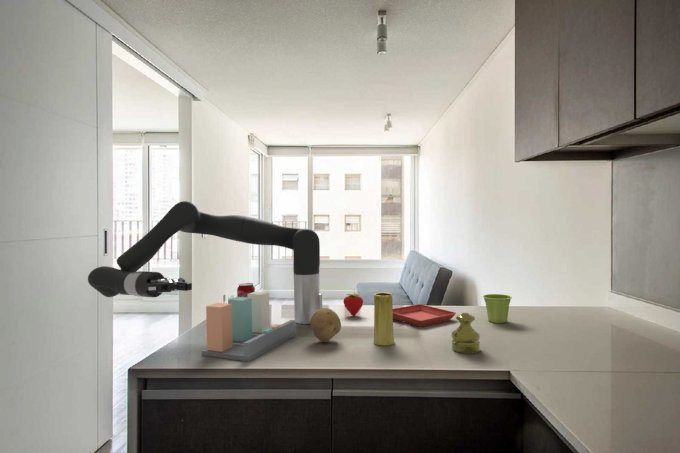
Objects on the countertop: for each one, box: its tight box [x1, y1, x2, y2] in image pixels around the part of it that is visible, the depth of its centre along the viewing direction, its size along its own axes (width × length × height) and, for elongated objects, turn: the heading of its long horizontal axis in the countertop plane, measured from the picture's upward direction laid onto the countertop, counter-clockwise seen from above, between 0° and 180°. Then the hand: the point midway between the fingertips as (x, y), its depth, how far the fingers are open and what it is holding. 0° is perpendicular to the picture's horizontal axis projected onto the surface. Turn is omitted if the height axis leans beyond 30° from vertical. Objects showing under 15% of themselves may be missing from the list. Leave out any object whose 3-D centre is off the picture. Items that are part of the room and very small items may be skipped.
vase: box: [373, 292, 395, 347], centre depth 117 cm, size 6×6×14 cm
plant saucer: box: [393, 303, 457, 328], centre depth 144 cm, size 18×18×3 cm
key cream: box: [248, 291, 271, 333], centre depth 128 cm, size 5×4×12 cm
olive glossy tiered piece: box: [451, 312, 481, 355], centre depth 110 cm, size 7×7×10 cm
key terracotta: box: [205, 302, 233, 352], centre depth 111 cm, size 5×4×12 cm
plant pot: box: [482, 293, 513, 324], centre depth 139 cm, size 9×9×9 cm
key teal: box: [227, 296, 252, 342], centre depth 120 cm, size 5×4×12 cm
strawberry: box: [342, 290, 364, 317], centre depth 152 cm, size 6×8×10 cm
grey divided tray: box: [202, 319, 296, 362], centre depth 118 cm, size 15×25×6 cm, turn 158°
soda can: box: [236, 282, 256, 297], centre depth 157 cm, size 7×7×12 cm
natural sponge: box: [309, 307, 342, 343], centre depth 120 cm, size 9×9×10 cm
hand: (189, 286), depth 114 cm, fingers closed
